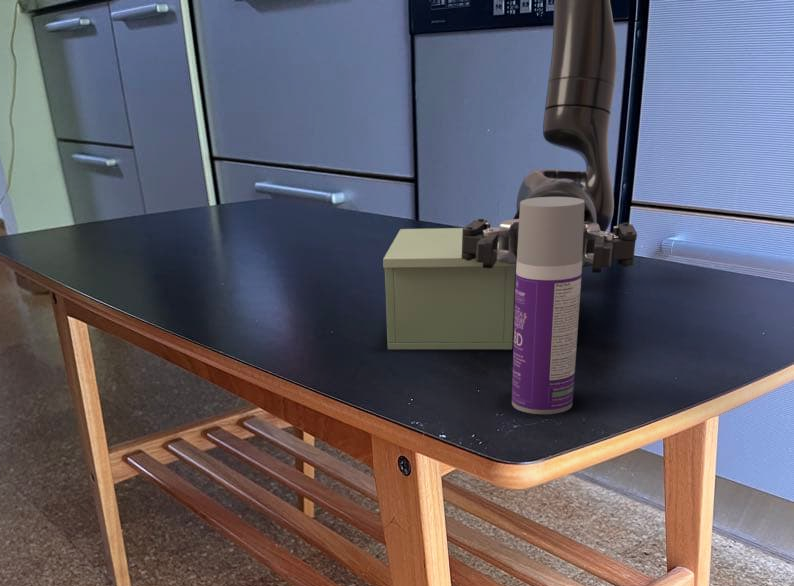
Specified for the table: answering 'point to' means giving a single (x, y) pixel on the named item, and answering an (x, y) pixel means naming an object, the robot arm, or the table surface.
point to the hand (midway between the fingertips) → (542, 256)
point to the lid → (429, 249)
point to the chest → (450, 307)
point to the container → (547, 303)
